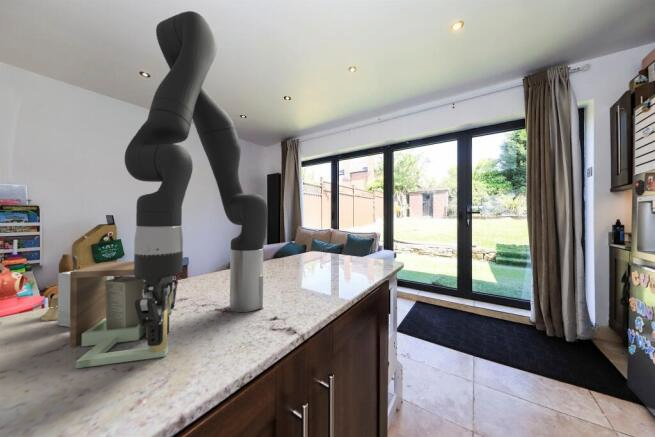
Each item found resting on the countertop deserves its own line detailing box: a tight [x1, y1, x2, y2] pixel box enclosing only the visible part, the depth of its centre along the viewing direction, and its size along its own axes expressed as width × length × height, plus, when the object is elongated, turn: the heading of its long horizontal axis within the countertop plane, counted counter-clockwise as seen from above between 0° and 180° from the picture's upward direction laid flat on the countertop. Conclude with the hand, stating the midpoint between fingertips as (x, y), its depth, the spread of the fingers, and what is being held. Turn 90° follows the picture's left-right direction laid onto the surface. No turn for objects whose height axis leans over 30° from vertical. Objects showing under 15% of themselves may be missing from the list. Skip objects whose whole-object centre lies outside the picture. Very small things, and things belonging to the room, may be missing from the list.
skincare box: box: [105, 275, 145, 330], centre depth 54 cm, size 6×4×12 cm
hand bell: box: [40, 253, 74, 322], centre depth 63 cm, size 8×8×16 cm
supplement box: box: [57, 270, 115, 328], centre depth 59 cm, size 7×7×13 cm
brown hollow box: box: [69, 260, 148, 348], centre depth 54 cm, size 14×10×15 cm
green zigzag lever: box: [75, 305, 169, 369], centre depth 50 cm, size 17×18×10 cm
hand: (158, 339), depth 45 cm, fingers closed on green zigzag lever, 2 cm apart
